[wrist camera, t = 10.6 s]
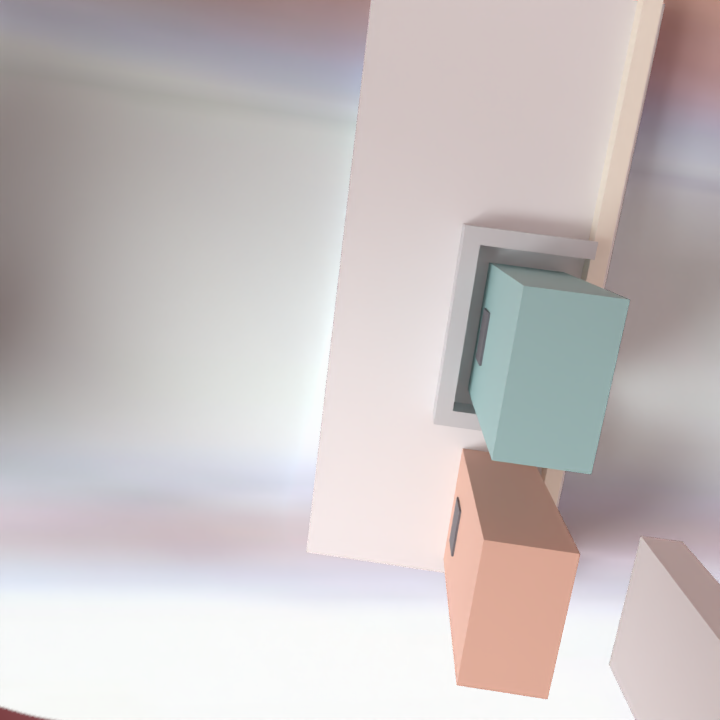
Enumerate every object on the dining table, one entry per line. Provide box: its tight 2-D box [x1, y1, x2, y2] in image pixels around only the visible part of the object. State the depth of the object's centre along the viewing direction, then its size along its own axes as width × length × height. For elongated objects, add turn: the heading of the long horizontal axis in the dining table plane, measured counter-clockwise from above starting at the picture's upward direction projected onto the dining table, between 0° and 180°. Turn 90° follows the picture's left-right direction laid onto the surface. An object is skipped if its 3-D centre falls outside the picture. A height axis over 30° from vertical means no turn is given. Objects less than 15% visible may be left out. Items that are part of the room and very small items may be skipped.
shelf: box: [306, 0, 665, 573], centre depth 40 cm, size 16×36×4 cm, turn 173°
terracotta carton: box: [443, 448, 580, 699], centre depth 37 cm, size 5×8×12 cm, turn 173°
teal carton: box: [468, 262, 630, 474], centre depth 35 cm, size 5×8×12 cm, turn 173°
